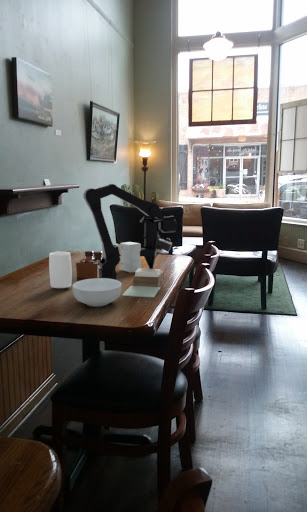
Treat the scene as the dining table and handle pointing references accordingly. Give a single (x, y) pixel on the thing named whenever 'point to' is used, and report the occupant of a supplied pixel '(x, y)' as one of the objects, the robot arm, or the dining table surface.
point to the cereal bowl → (97, 291)
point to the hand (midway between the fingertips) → (151, 269)
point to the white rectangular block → (147, 272)
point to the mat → (141, 291)
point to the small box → (130, 256)
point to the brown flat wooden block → (149, 280)
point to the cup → (60, 269)
